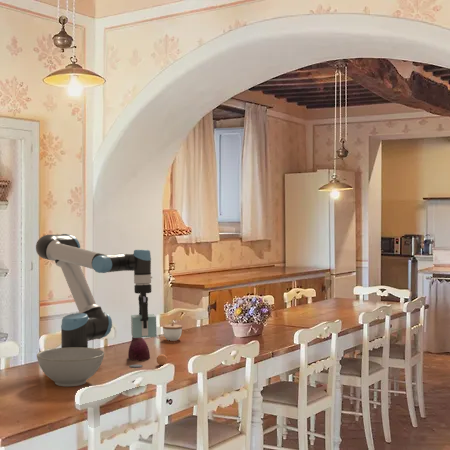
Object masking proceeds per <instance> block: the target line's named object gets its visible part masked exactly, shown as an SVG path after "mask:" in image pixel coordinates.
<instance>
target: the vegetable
mask: <svg viewBox="0 0 450 450" xmlns="http://www.w3.org/2000/svg"><path fill="white" fill-rule="evenodd" d="M131 336H132V335H131ZM127 352H128V356H127V358H128V360H131V361H145V360H149V359H150V358H151V354H150V353H151V352H150V349H149V346H148V344H147V342H146V340H145V339H144V337H141V338H133V336H132V337H131V341H130V344H129V348H128V351H127Z"/></svg>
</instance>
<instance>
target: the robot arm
mask: <svg viewBox="0 0 450 450" xmlns="http://www.w3.org/2000/svg"><path fill="white" fill-rule="evenodd" d="M35 250H36V253H37V255H38V256H39V258H41V259H43V260H49V261H51V262H53V261H54V262H55V265H56V266H57V267H59V268H61V271H62V274H63V276H64V278H65V281H66V283H67V285H68V288H69V291H70V293H71V295H72V298H73V300H74V302H75V306H76V308H77V310H78V312H76V313H70V314H67V315H65V316H63V318H62V319H61V324H60V325H61V326H60V328H61V333H60V334H61V344H60V345H61V347H60V348H67V347H85V348H89V347H88V346H89V344H88V343H89V341H95V340H100V339H104V338H105V337H107V336H108V335H110V333H111V332H112V327H113V320H112V317H111V315H109V314H108V313H106V312H104V311H103V309H102V307H101V306H100V305H98V304H97V303H96V301H95V299H94V296H93V293H92V290H91V289H90V287H89V284H88V282H87V279H86V276H85V274H84V272H83V270H82V268H81V267H83V268H89V269H92V270H93V271H95V272H96V273H99V274H107V273H112V272H113V273H114V272H123V271H124V272H127V271H131V272H133V283H134V284H135V285H134V287H133V288H134V293H135V294H138V306H139V307H138V315H142V319H140V321H142V336H148V314H149V309H148V307H149V306H148V305H149V303H148V302H149V297H148V296H147V294H150V293H152V284H151V283H152V279H153V276H152V272H151V271H152V270H151V269H152V257H151V250H149V249H135V250H133V253H117V254H104V253H100V252H96V251H91V250H89V249H84V248H81V244H80V241H79V240H78V239H77V237H76V236H74V235H72V234H67V233H62V234H45V235H42V236H41V237H39V239H37V241H36V244H35Z"/></svg>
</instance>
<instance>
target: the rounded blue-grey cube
mask: <svg viewBox="0 0 450 450" xmlns="http://www.w3.org/2000/svg"><path fill="white" fill-rule="evenodd" d="M130 319H131V320H130V321H131V322H130V325H131V327H130V328H131V336H133V338H141V337H142V338H155V337H158V336H157V316H156V315H155V314H154V313H151V314H150V313H148V336H142V321H140V319H142V315H139V314H131V315H130Z"/></svg>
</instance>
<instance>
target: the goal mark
mask: <svg viewBox="0 0 450 450" xmlns="http://www.w3.org/2000/svg"><path fill="white" fill-rule="evenodd" d="M128 366H129V368H131V369H138V368H139V369H140V368H143V365H141V364H131V365H128Z"/></svg>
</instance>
